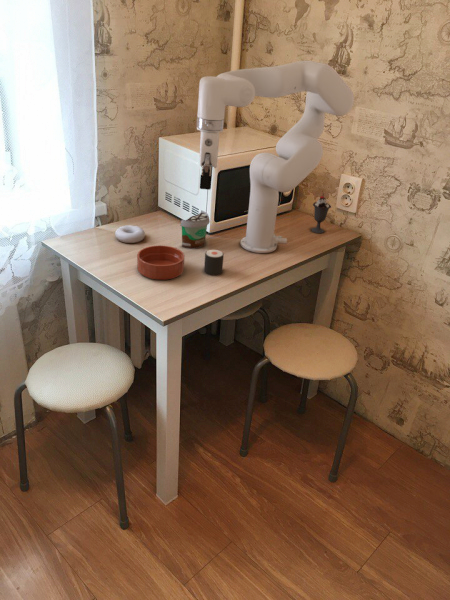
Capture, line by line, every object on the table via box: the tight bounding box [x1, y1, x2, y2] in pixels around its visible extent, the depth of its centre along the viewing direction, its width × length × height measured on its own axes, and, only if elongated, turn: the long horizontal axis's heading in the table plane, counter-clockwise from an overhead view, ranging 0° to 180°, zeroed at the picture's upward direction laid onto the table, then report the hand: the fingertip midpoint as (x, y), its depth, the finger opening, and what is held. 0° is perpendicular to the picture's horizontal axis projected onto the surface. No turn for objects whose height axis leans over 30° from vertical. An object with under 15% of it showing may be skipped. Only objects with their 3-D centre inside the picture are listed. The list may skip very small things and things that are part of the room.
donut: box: [114, 224, 146, 244], centre depth 174 cm, size 10×4×10 cm
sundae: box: [310, 190, 332, 234], centre depth 190 cm, size 7×7×15 cm
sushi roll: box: [203, 249, 225, 276], centre depth 157 cm, size 6×6×6 cm
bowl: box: [136, 244, 185, 281], centre depth 155 cm, size 14×14×5 cm
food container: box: [180, 210, 211, 249], centre depth 172 cm, size 12×6×10 cm, turn 148°
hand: (205, 183), depth 153 cm, fingers open, 9 cm apart
